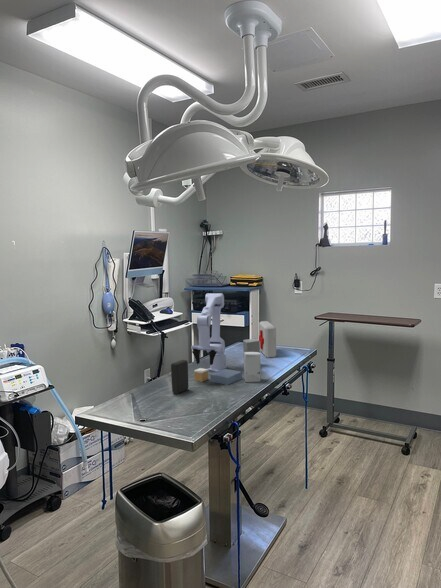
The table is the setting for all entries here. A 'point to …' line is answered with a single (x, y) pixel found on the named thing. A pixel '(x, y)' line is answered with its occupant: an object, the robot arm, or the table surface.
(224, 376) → the box
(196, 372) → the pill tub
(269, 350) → the bevelled white case
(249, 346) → the skincare box
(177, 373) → the card reader
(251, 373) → the skincare box
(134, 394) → the table surface
